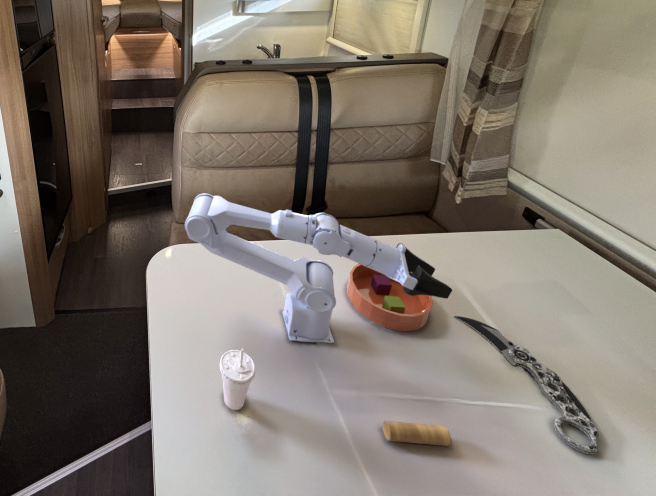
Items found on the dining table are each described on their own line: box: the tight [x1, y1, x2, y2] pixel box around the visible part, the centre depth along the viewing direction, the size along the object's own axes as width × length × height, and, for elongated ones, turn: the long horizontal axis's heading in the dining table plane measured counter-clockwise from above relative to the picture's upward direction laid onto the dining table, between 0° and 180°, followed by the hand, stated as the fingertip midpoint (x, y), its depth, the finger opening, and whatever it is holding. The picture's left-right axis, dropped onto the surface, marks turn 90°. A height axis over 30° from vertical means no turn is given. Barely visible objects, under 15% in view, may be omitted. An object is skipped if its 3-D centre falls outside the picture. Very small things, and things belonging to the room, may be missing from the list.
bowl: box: [346, 263, 434, 332], centre depth 102 cm, size 17×17×5 cm
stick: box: [382, 420, 452, 447], centre depth 74 cm, size 10×3×3 cm, turn 85°
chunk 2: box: [382, 296, 405, 314], centre depth 99 cm, size 3×3×3 cm
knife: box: [453, 315, 600, 455], centre depth 85 cm, size 28×2×10 cm
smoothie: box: [219, 347, 256, 411], centre depth 78 cm, size 6×6×14 cm
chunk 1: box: [371, 275, 392, 295], centre depth 105 cm, size 3×3×3 cm
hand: (440, 282), depth 82 cm, fingers open, 7 cm apart
